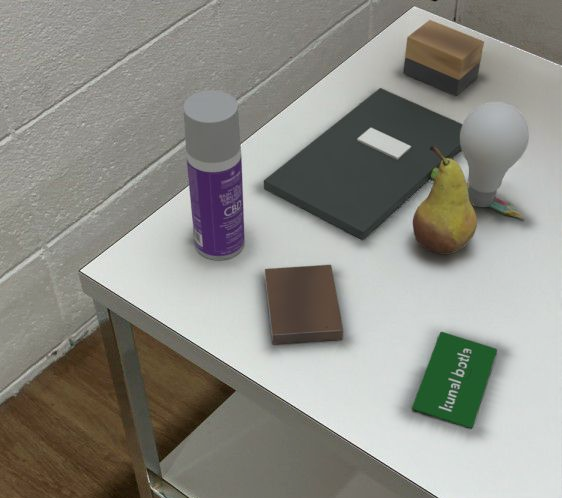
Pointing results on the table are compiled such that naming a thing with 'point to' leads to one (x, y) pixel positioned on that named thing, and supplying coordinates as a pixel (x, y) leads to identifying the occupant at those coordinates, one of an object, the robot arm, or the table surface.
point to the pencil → (497, 203)
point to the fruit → (445, 211)
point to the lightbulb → (491, 147)
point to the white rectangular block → (384, 143)
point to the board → (366, 163)
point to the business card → (455, 380)
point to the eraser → (443, 57)
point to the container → (215, 173)
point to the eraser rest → (303, 304)
